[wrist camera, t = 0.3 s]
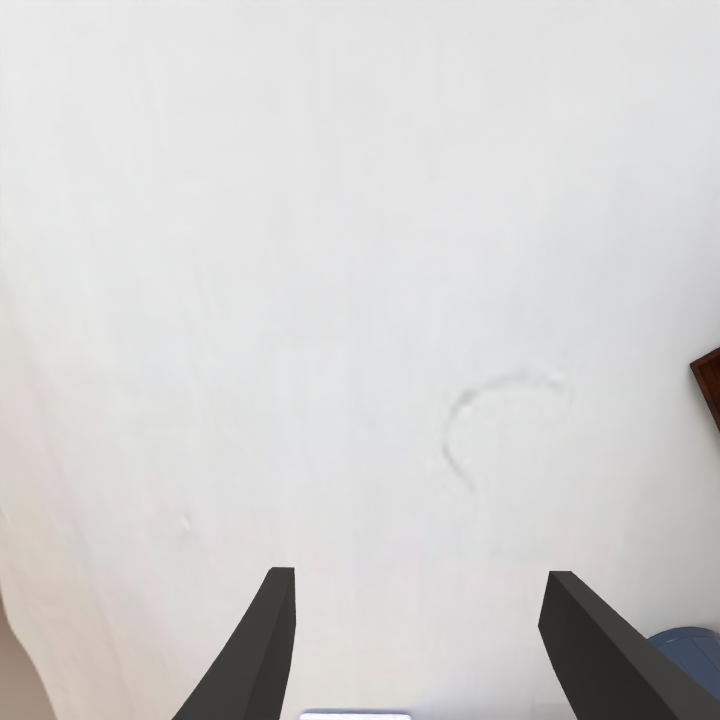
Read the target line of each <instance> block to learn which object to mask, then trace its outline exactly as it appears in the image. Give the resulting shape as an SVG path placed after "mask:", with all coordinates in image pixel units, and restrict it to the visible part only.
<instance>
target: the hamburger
mask: <svg viewBox="0 0 720 720" xmlns="http://www.w3.org/2000/svg"><path fill="white" fill-rule="evenodd" d="M690 366H691V369H692V371H693V373H694V375H695V378H696V380H697V382H698V384H699V387H700V389H701V391H702V393H703V395H704V398H705V400H706V402H707V404H708V407H709V409H710V411H711V413H712V416H713V418H714V420H715V422H716V424H717V427H718V429H719V431H720V347H719V348H717V349H715V350H714V351H712V352H710V353H708V354H707V355H705V356H703V357H701V358H699V359H698V360H696V361H694V362H692V363H691V364H690Z"/></svg>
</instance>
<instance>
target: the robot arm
mask: <svg viewBox="0 0 720 720" xmlns="http://www.w3.org/2000/svg"><path fill="white" fill-rule="evenodd" d="M295 628H296V606H295V574H294V568H286V567H272V568H271V569H270V570H269V571H268V573H267V575H266V577H265V579H264V581H263V583H262V585H261V587H260V589H259V590H258V592H257V594H256V596H255V598H254V599H253V601H252V603H251V604H250V606H249V608H248V610H247V611H246V613H245V615H244V616H243V618H242V619H241V621H240V623H239V624H238V626H237V627H236V629H235V631H234V632H233V634H232V635H231V637H230V638H229V640H228V642H227V643H226V645H225V646H224V648H223V649H222V651H221V652H220V654H219V655H218V657H217V658H216V660H215V661H214V662H213V664H212V665H211V667H210V668H209V670H208V671H207V672H206V674H205V675H204V677H203V678H202V680H201V681H200V683H199V684H198V685H197V687H196V688H195V689H194V691H193V692H192V694H191V695H190V696H189V698H188V699H187V700H186V702H185V703H184V704H183V706H182V707H181V708H180V710H179V711H178V712H177V713H176V715H175V716H174V717H173V719H172V720H279V718H280V714H281V709H282V704H283V700H284V695H285V690H286V686H287V681H288V676H289V672H290V666H291V659H292V651H293V644H294V636H295ZM538 628H539V631H540V633H541V636H542V639H543V642H544V645H545V648H546V650H547V653H548V656H549V658H550V661H551V663H552V666H553V669H554V671H555V673H556V676H557V678H558V680H559V682H560V684H561V686H562V688H563V690H564V692H565V695H566V697H567V699H568V701H569V703H570V705H571V707H572V709H573V711H574V713H575V715H576V717H577V719H578V720H720V701H719V700H718V699H717V698H715V697H714V696H713V695H712V694H711V693H709V692H708V691H707V690H706V689H705V688H703V687H702V686H701V685H700V684H698V683H697V682H696V681H695V680H694V679H692V678H691V677H690V676H689V675H688V674H686V673H685V672H684V671H683V670H682V669H680V668H679V667H678V666H677V665H676V664H674V663H673V662H672V661H671V660H670V659H669V658H667V657H666V656H665V655H664V654H663V653H662V652H660V651H659V650H658V649H657V648H656V647H655V646H654V645H652V644H651V643H650V642H649V641H648V640H647V639H646V638H645V637H643V636H642V635H641V634H640V633H639V632H638V631H637V630H636V629H634V628H633V627H632V626H631V625H630V624H629V623H628V622H627V621H626V620H624V619H623V618H622V617H621V616H620V615H619V614H618V613H617V612H616V611H615V610H613V609H612V608H611V607H610V606H609V605H608V604H607V603H606V602H605V601H604V600H602V599H601V598H600V597H599V596H598V595H597V594H596V593H595V592H594V591H593V590H592V589H590V588H589V587H588V586H587V585H586V584H585V583H584V582H583V581H582V580H580V579H579V578H578V577H577V576H576V575H575V574H574V573H572V572H571V571H550V572H549V576H548V581H547V586H546V590H545V595H544V600H543V605H542V609H541V614H540V619H539V623H538ZM299 720H411V717H410V716H409V715H406V714H323V713H305V714H302V715H300V717H299Z"/></svg>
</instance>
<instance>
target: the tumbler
mask: <svg viewBox="0 0 720 720" xmlns="http://www.w3.org/2000/svg"><path fill="white" fill-rule="evenodd" d="M648 641H649V642H650V643H651V644H652V645H654V646H655V647H656V648H657V649H658V650H659V651H660V652H662V653H663V654H664V655H665V656H666V657H667V658H669V659H670V660H671V661H672V662H673V663H674V664H676V665H677V666H678V667H679V668H680V669H682V670H683V671H684V672H685V673H686V674H688V675H689V676H690V677H691V678H692V679H694V680H695V681H696V682H697V683H698V684H700V685H701V686H702V687H703V688H705V689H706V690H707V691H708V692H709V693H711V694H712V695H713V696H714V697H715V698H717V699H718V700H719V701H720V634H718V633H716V632H714V631H711V630H708V629H703V628H694V627H689V628H678V629H673V630H669V631H666V632H663V633H660V634H658V635H655V636H653V637H651V638H650V639H648Z"/></svg>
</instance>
